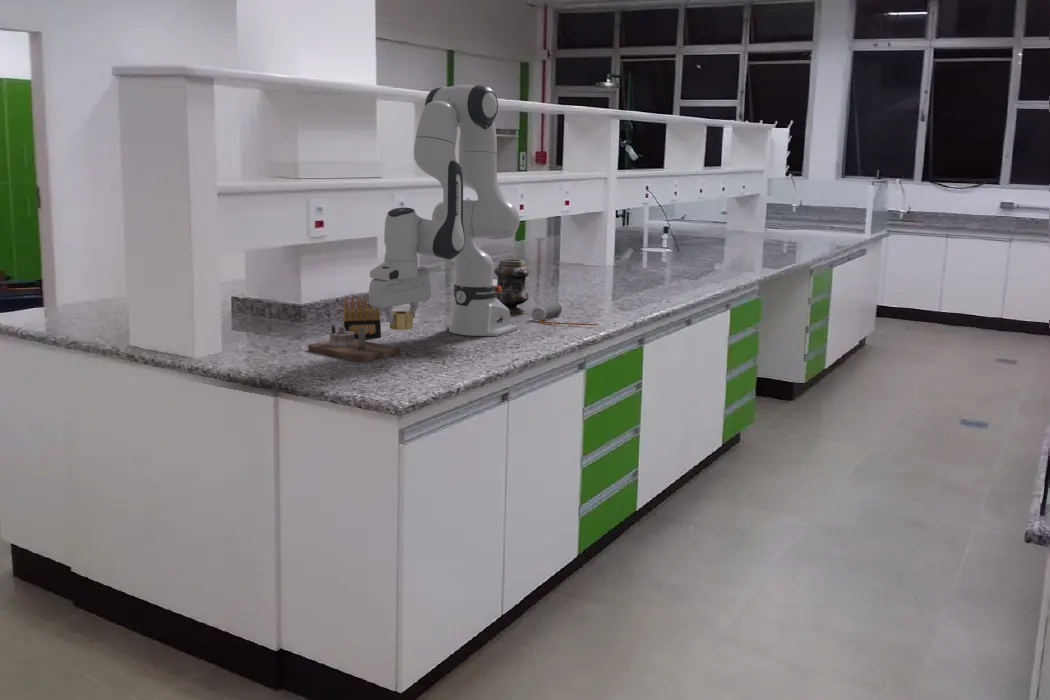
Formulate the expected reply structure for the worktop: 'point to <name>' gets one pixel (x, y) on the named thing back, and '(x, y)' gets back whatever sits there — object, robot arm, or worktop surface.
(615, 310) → the worktop surface
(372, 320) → the ammunition clip
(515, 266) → the apothecary jar
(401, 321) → the octagonal hollow tube
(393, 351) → the gear board
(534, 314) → the motor
